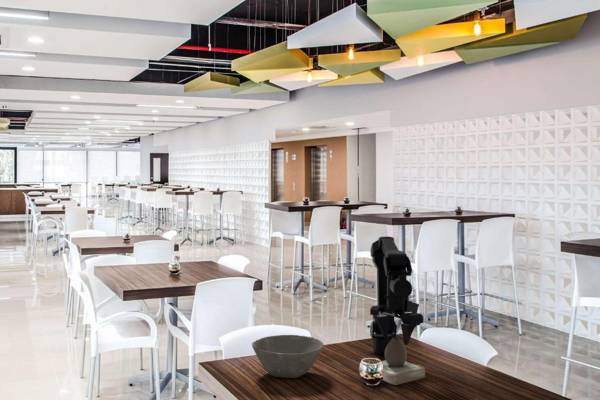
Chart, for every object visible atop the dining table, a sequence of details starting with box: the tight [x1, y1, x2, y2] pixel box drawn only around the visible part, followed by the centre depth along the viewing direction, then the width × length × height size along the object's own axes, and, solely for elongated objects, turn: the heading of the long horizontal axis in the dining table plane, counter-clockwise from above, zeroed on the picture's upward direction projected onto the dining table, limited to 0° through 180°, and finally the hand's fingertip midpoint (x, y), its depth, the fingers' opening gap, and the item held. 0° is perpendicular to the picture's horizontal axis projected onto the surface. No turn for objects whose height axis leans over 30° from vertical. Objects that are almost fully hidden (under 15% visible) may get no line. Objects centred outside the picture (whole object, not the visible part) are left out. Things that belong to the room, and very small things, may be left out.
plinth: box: [380, 359, 426, 386], centre depth 178 cm, size 13×13×3 cm
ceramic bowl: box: [251, 334, 324, 379], centre depth 179 cm, size 22×23×10 cm
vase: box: [384, 336, 408, 367], centre depth 178 cm, size 7×7×9 cm
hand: (395, 341), depth 178 cm, fingers open, 9 cm apart
